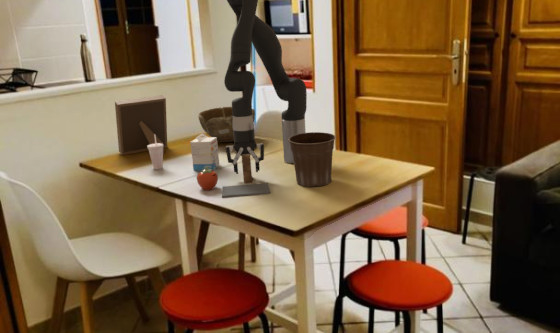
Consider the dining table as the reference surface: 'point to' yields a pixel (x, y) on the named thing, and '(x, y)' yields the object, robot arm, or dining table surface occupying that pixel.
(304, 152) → the plant pot
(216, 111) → the bowl
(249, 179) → the walnut slab
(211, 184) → the tomato
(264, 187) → the mat
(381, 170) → the dining table surface
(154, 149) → the smoothie
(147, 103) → the photo frame
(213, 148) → the milk carton
